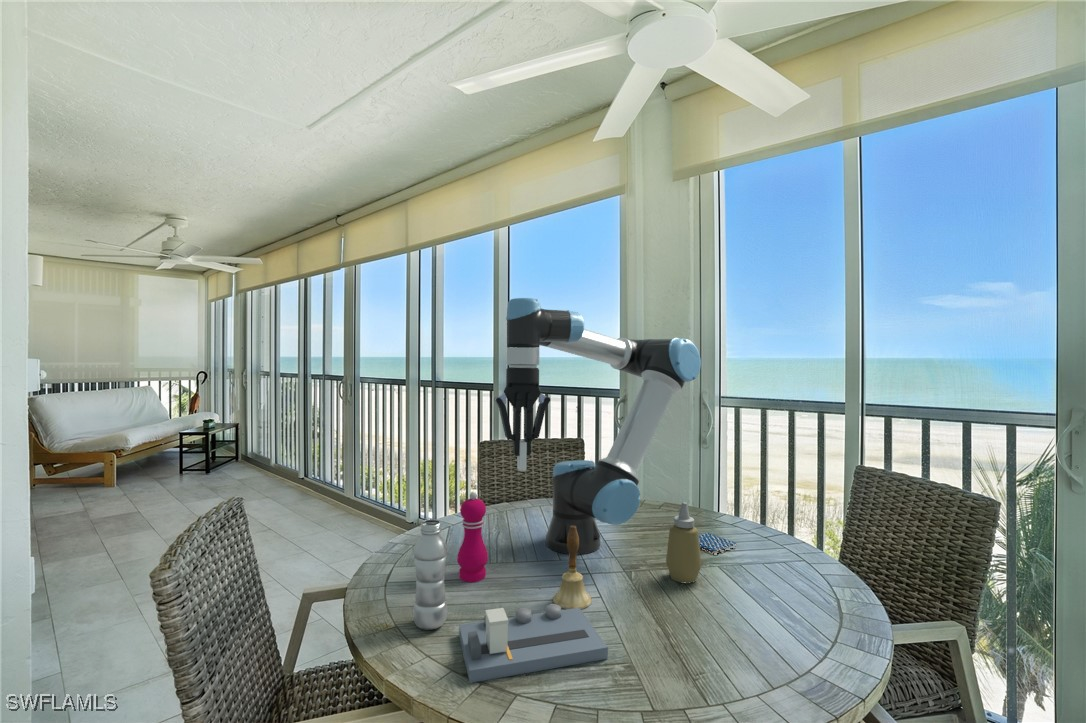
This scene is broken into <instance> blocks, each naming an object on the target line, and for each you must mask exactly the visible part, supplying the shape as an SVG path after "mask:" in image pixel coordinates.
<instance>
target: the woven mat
mask: <svg viewBox="0 0 1086 723" xmlns="http://www.w3.org/2000/svg"><path fill="white" fill-rule="evenodd" d="M718 541H719V542H718ZM699 545H701V546H700V548H701V549H702V548H703V549H705V550H706V551H707V550H708V552H709V551H710V552H711V553H712V552H713V554H714V553H716V554H717V552H720V551H722V550H725V549H727V548H729V547H731V546H733V545H737V543H736V542H734V541H733V540H729V539H728V538H727V539H725V538H724V537H720V536H719V535H717V536H716V535H714V533H712V534H711V533H709V532H705V533H702V534H699ZM704 547H706V548H704ZM701 549H700V550H701ZM709 549H711V550H709ZM715 551H717V552H715ZM708 552H707V553H708ZM711 553H710V554H711ZM713 554H712V555H713Z"/></svg>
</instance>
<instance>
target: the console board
mask: <svg viewBox="0 0 1086 723" xmlns="http://www.w3.org/2000/svg"><path fill="white" fill-rule="evenodd" d="M507 618H508V639H507V651H506V652H500V653H493V654H490V653H489V650H488V646H487V643H486V614H484V619H483V621H476V622H470V623H469V622H468V623H463V624H462V623H461V624H459V625H458V629H459V630H458V636H459V641H460V645H461V650H462V655H463V659H464V660H463V661H464V664H465V668H466V672H467V678H468V683H470V684H471V683H478V682H482V681H490V680H493V679H499V678H505V677H506V678H507V677H511V676H516V675H517V676H518V675H523V674H524V675H525V674H528V673H534V672H540V671H546V670H549V669H550V670H551V669H556V668H563V667H567V666H573V665H580V664H585V663H591V662H597V661H602V660H608V658H609V656H608V655H609V648H608V645H607V644H606V642H605V641H604V640H603V638H602V637H601V636H600V635H599V633H598V631H597V629H595V627H594V626H593V625H592V622H591V621H590V620H589V619H588V617H587V616H586V615H585V613H584V612H583V609H580V608H574V609H562V608H561V607H560V606H559V605H557V604H555V603H551V604H547V605H546V606H545V612H539V613H534V614H532V611H531V609H530V608H528V607H527V608H526V607H521V608H517V609H516V610H515V616H513V617H507Z"/></svg>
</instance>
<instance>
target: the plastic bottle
mask: <svg viewBox="0 0 1086 723" xmlns="http://www.w3.org/2000/svg"><path fill="white" fill-rule="evenodd" d="M441 531H442V528H441V521H440V520H438V519H426V520H423V521H421V524H420V534H421V536H420V537H419V538H418V539H417V541H416V542H415V544H414V548H413V553H412V554H413V561H414V566H415V568H414V569H415V582H416V583H415V586H416V587H415V598H414V603H413V607H412V608H413V610H412V617H413V622H414V623H415V625H416V626H417V628H418V629H420V630H424V631H425V630H426V631H427V630H428V631H429V630H430V631H431V630H435V629H438V628H440V627H442V626H443V625H444V623H445V622H446V621H447V618H448V604H447V598H446V588H445V575H446V574H445V572H446V562H447V556H448V555H447V554H448V547H447V543H446V542H445V540H444V538H443V537H442V536H441V535H440V533H441Z"/></svg>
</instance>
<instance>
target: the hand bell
mask: <svg viewBox="0 0 1086 723" xmlns="http://www.w3.org/2000/svg"><path fill="white" fill-rule="evenodd" d="M578 547H579V536H578V532H577V529H576V526H570V530H569V533H568V536H567V548H568V552H569V554H568V570H567V571H566V572H565V573H563V574H562V576H561V583H560V586H559V590H558V591H556V593H555V594H554V595H553V599H552V601H553V604H557V605H559V606H560V607H561V609H562V610H567V609H574V608H580V609H581V610H583V609H586V608H588V607H589V606H591V604H592V602H593V601H592V597H591V596H590V594H589V593H588V592H587V590H586V588H585V584H584V576H583V575H582V574H581V573H580V572H578V571H577V555H578V554H577V551H578Z"/></svg>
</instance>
